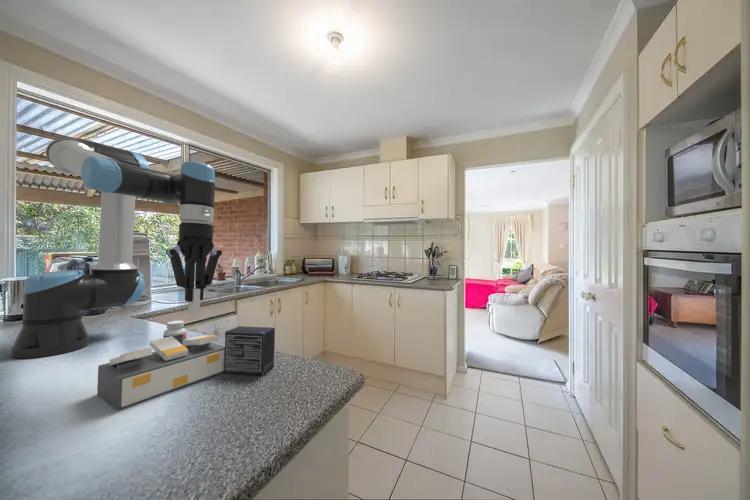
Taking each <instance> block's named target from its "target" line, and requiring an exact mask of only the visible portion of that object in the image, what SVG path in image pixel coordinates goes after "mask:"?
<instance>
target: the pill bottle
mask: <svg viewBox="0 0 750 500" xmlns="http://www.w3.org/2000/svg"><path fill="white" fill-rule="evenodd" d="M184 325H185V321H184V320H173V321H172V320H171V321H168V322H167V323H166V329H167V330H165V331H163V337H162V338H166V337H170V336H173V337H174V338H175V339H176V340H177V341H178V342H179V343H181V344H182V345H183V340H185V339H187V329H186V328H184Z"/></svg>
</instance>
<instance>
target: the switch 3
mask: <svg viewBox="0 0 750 500" xmlns="http://www.w3.org/2000/svg"><path fill="white" fill-rule="evenodd" d="M218 341H219V335H218V334H212V335H198V336H194V337H190V338H186V339H185V340H183V345H202V344H206V343H210V342H211V343H214V342H218Z"/></svg>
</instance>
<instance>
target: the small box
mask: <svg viewBox="0 0 750 500" xmlns="http://www.w3.org/2000/svg"><path fill="white" fill-rule="evenodd" d="M275 330H276V328H275V327H265V326H263V327H262V326H245V325H244V326H240V325H239V326H236V327H234V328H231V329H229V330H226V331H225V332H224V337H225V338H224V341H225V343H224V347H225V362H224V363H225V364H224V372H223V373H224V374H226V375H227V374H229V375H246V376H261V377H262V376H264V375H265V374H266V373H268V372H269V371H270V370H272V368H274V367H275V337H276V336H275V334H276V333H275Z"/></svg>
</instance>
